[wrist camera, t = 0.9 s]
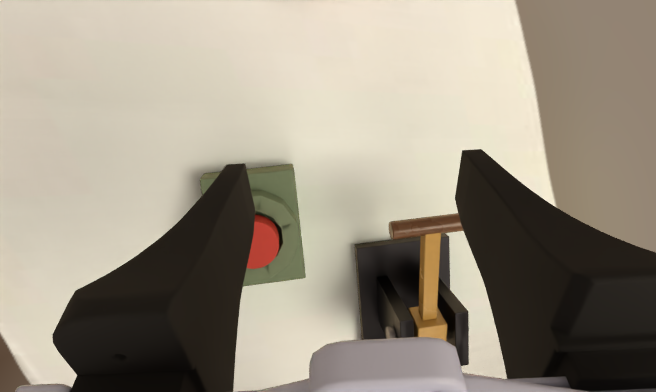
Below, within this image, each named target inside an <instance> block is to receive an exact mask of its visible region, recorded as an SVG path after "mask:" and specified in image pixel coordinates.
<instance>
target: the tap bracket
mask: <svg viewBox="0 0 656 392" xmlns="http://www.w3.org/2000/svg"><path fill="white" fill-rule="evenodd" d="M420 240H421V236H418V237H410V238H402V239H394V240H386V241H378V242H371V243H363V244H355V257H356V270H357V283H358V297H359V310H360V323H361V337H362V340H370V339H390V338H411V337H414V320H413V318H412V316H411V315H410V313H409V308H411V307H418V306H419V276H420ZM437 307H438V309H439V310H440V312H441V314H442V316H443V318H444V319H445V321H446V323H447V337H446V342H448V343H450V344H452V345H453V346H455V347H456V350H457V354H458V357H459V361H460V365H461V366H463V365H468V364H469V362H468V332H469V327H468V311H467V309H466V308H465V307H464V306H463V305H462V304H461V302H460V301H459V300H458V299H457V298H456V296H455V295H454V294H453V293H452V292H451V291H450V268H449V236H447V235H446V234H445V233H441V240H440V260H439V280H438V300H437Z"/></svg>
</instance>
